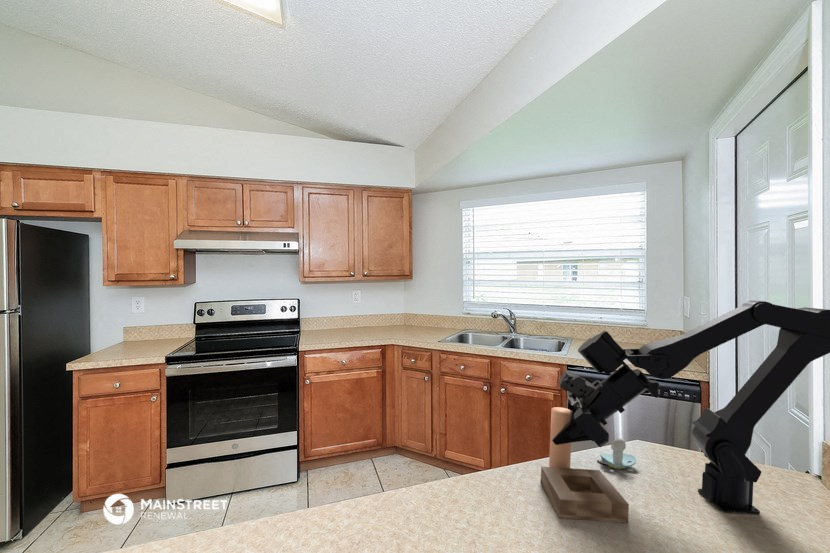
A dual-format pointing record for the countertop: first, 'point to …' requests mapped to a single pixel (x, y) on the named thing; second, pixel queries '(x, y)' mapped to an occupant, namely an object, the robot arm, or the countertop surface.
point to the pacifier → (617, 456)
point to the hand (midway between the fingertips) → (553, 438)
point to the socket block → (583, 494)
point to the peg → (561, 452)
